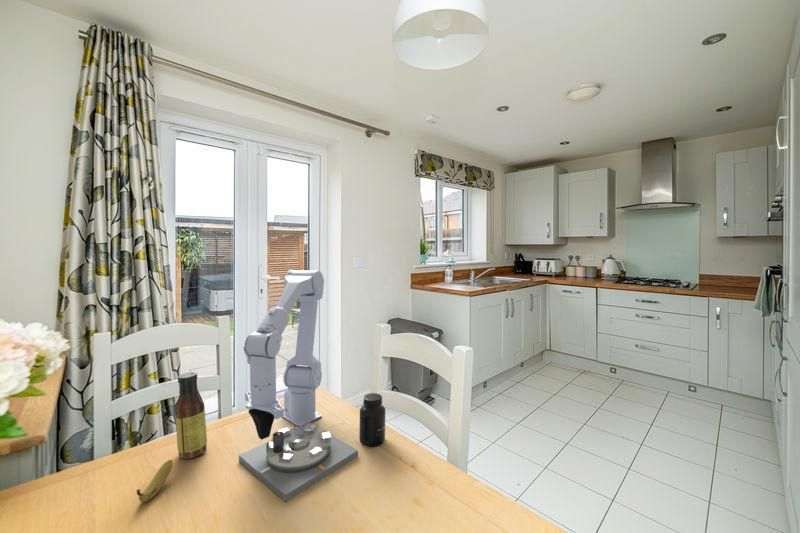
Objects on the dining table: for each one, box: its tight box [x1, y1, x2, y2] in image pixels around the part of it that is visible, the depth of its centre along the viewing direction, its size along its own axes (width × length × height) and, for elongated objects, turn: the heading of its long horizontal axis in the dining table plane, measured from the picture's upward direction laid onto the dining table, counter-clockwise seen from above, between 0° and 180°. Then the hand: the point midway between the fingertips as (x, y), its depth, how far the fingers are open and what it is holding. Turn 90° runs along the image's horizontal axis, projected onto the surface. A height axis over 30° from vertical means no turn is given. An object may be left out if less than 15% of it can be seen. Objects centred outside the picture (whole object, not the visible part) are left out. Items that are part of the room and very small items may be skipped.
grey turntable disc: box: [266, 423, 331, 472], centre depth 84 cm, size 15×15×7 cm
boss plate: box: [238, 422, 359, 503], centre depth 84 cm, size 20×20×2 cm
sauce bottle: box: [174, 371, 208, 460], centre depth 85 cm, size 6×6×20 cm
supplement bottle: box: [358, 392, 387, 448], centre depth 91 cm, size 7×7×12 cm
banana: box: [135, 459, 174, 503], centre depth 72 cm, size 10×2×4 cm, turn 0°
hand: (264, 437), depth 83 cm, fingers closed
